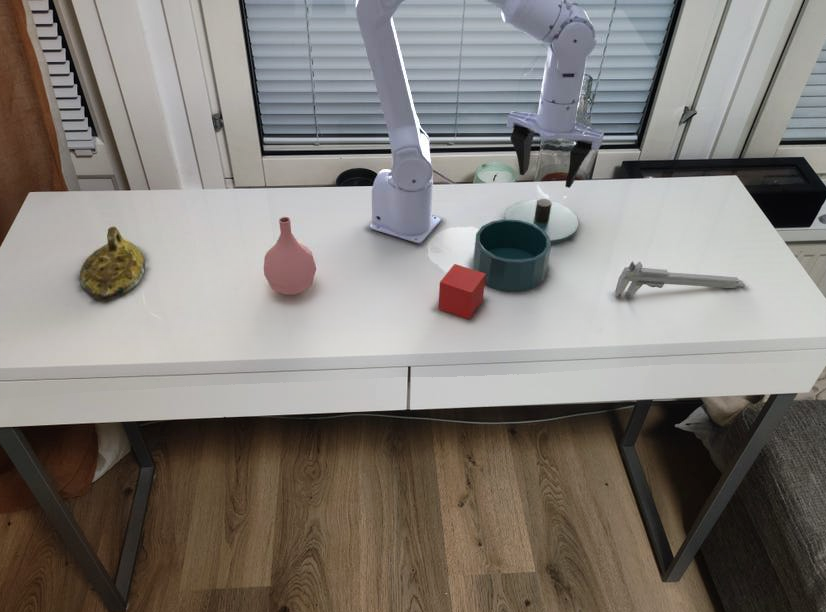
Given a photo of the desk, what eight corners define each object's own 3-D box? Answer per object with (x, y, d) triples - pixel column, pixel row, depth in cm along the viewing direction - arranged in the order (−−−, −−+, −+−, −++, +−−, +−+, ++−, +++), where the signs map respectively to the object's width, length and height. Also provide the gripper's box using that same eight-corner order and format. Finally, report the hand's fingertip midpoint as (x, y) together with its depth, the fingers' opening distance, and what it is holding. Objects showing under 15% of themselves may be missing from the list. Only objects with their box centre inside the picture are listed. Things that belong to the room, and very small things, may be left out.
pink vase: (264, 274, 116) (255, 207, 108) (314, 269, 117) (308, 202, 109) (268, 306, 111) (258, 238, 102) (320, 300, 112) (314, 232, 103)
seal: (142, 305, 112) (148, 246, 123) (138, 280, 109) (145, 221, 119) (74, 306, 110) (87, 245, 121) (69, 280, 107) (82, 220, 118)
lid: (492, 233, 125) (495, 210, 122) (519, 198, 133) (522, 176, 130) (563, 254, 121) (567, 231, 118) (587, 216, 129) (591, 194, 126)
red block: (438, 309, 111) (439, 282, 107) (452, 290, 114) (454, 263, 110) (469, 319, 109) (471, 292, 106) (483, 300, 112) (486, 273, 109)
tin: (461, 278, 116) (463, 248, 112) (489, 240, 123) (493, 212, 119) (530, 300, 112) (535, 270, 109) (555, 260, 120) (560, 231, 116)
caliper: (616, 300, 113) (625, 266, 108) (613, 295, 113) (622, 261, 109) (744, 287, 115) (758, 254, 111) (741, 283, 116) (754, 249, 112)
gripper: (503, 95, 111) (494, 178, 120) (600, 118, 106) (582, 202, 115) (521, 77, 115) (510, 158, 125) (614, 98, 110) (596, 181, 120)
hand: (546, 178), depth 120 cm, fingers open, 7 cm apart
